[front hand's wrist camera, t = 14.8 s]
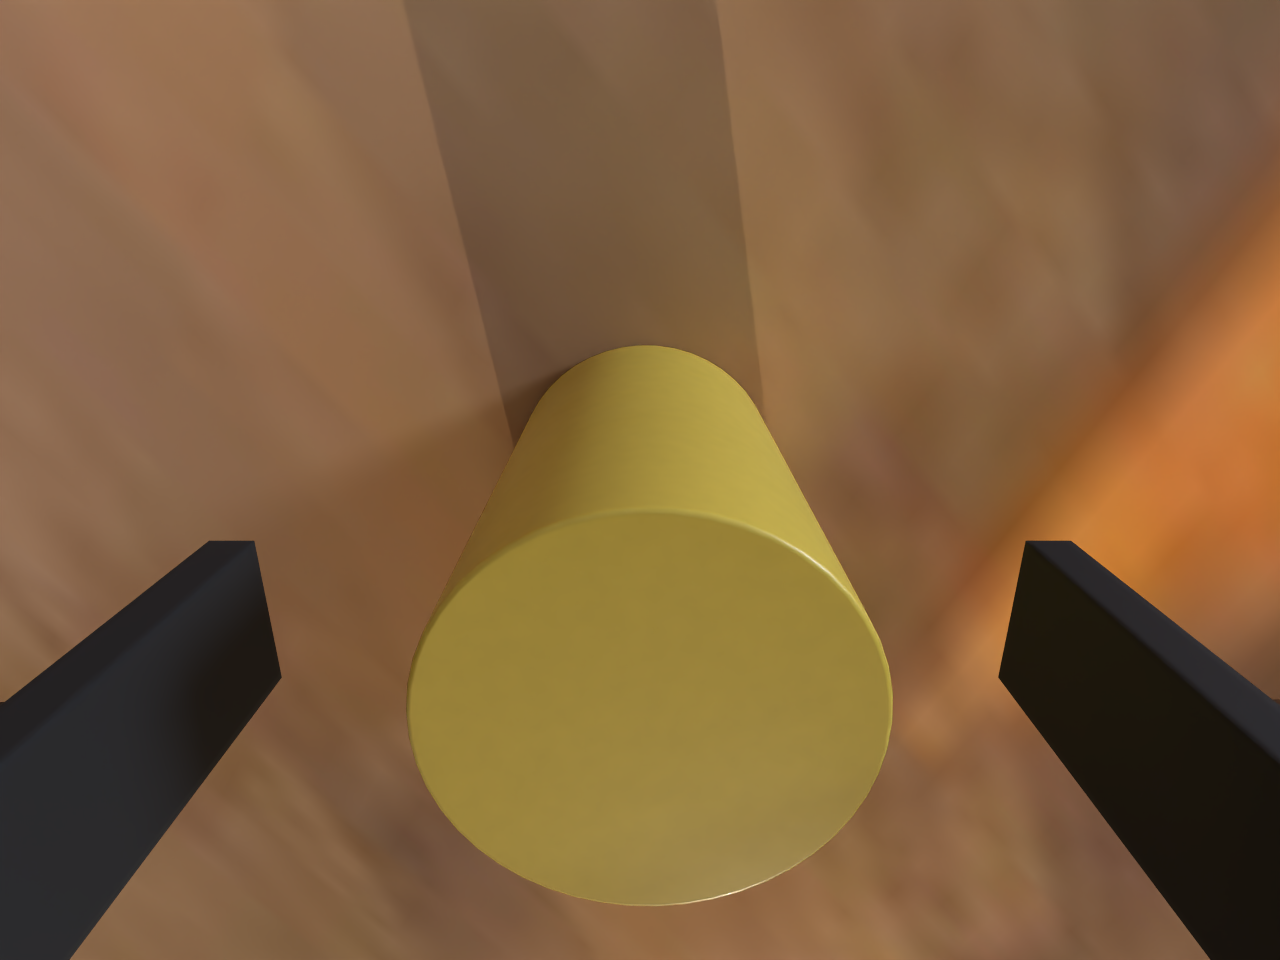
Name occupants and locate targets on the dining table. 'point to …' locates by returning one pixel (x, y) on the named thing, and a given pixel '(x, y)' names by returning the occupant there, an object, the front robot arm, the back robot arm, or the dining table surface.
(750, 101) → the dining table surface
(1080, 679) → the front robot arm
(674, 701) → the canister
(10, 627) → the dining table surface
